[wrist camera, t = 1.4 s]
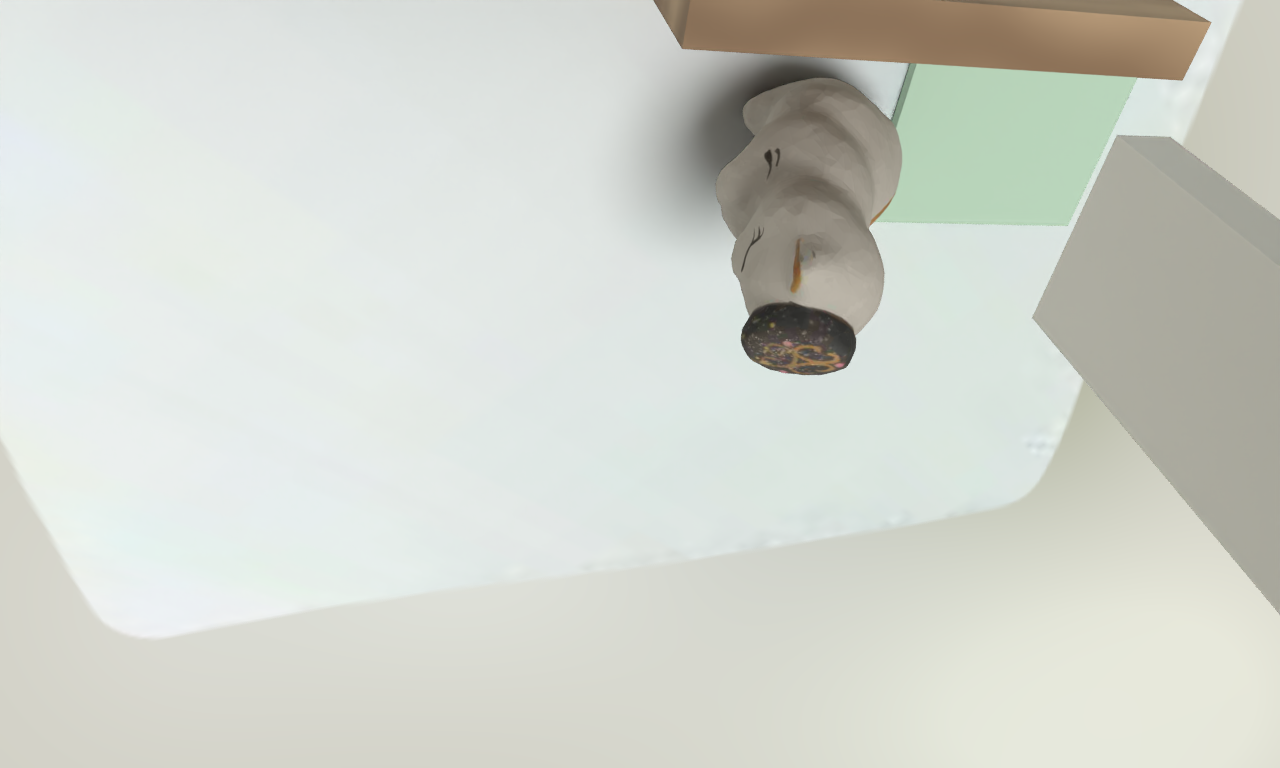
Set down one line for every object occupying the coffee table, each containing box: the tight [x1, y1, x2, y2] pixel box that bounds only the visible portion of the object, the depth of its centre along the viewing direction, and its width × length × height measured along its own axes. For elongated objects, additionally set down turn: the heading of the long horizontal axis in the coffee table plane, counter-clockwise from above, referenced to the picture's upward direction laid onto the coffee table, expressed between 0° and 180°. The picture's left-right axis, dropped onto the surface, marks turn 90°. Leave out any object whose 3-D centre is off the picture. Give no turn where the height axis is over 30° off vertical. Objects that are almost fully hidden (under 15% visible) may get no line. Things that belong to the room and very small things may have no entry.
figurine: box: [716, 78, 902, 375], centre depth 41 cm, size 9×10×15 cm
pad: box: [875, 63, 1137, 226], centre depth 48 cm, size 12×12×1 cm
